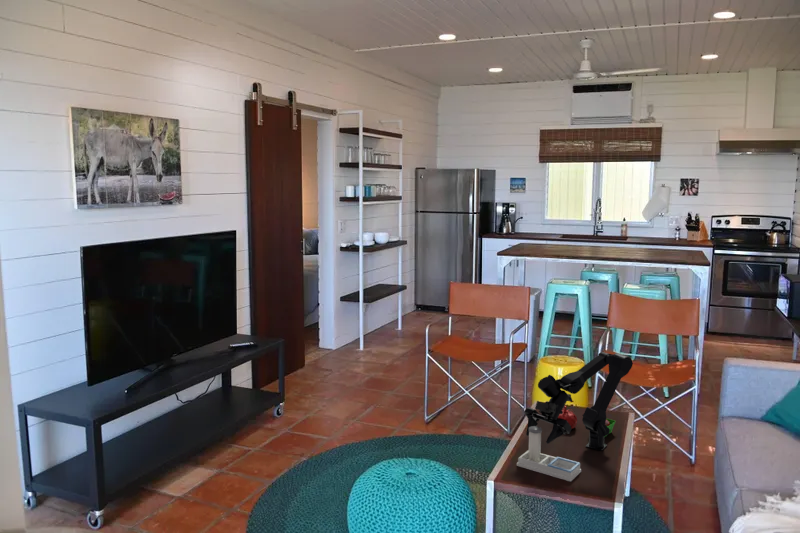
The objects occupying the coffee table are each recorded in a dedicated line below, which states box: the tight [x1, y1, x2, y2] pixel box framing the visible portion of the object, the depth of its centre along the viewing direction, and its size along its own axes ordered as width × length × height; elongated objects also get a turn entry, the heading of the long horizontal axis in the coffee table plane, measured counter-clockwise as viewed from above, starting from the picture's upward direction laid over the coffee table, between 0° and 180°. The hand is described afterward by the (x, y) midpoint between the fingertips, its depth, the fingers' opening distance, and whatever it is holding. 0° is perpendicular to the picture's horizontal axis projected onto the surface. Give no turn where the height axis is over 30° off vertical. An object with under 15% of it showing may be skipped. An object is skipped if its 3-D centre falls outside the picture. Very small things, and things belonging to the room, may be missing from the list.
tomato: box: [558, 405, 578, 430], centre depth 273 cm, size 10×10×9 cm
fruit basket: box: [604, 417, 616, 438], centre depth 266 cm, size 11×9×11 cm
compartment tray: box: [516, 449, 582, 482], centre depth 234 cm, size 10×21×4 cm, turn 53°
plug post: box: [528, 425, 543, 463], centre depth 237 cm, size 5×5×13 cm
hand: (536, 439), depth 237 cm, fingers open, 9 cm apart
